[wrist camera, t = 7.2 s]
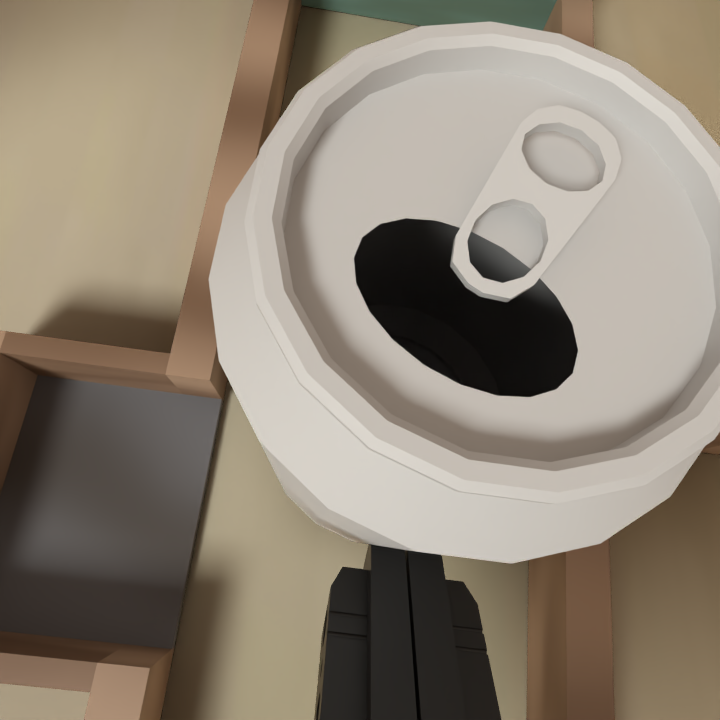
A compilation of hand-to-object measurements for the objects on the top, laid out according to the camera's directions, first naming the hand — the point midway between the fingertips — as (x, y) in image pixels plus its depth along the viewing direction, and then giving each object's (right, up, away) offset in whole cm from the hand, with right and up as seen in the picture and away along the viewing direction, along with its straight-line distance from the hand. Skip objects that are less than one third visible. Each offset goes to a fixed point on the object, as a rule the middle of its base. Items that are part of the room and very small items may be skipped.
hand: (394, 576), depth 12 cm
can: (0, +3, +6) cm, 7 cm away
